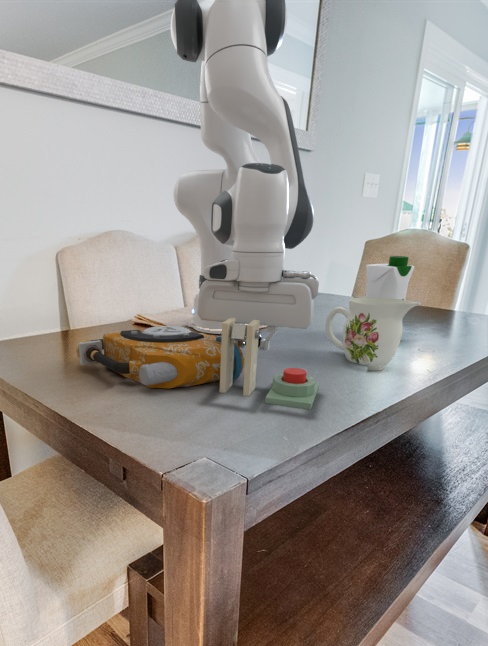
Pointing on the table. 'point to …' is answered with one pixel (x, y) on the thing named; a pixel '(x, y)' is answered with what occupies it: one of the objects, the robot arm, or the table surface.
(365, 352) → the pitcher
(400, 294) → the milk carton
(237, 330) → the lever
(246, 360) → the bracket
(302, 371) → the button
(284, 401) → the button box
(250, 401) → the table surface
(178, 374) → the device
